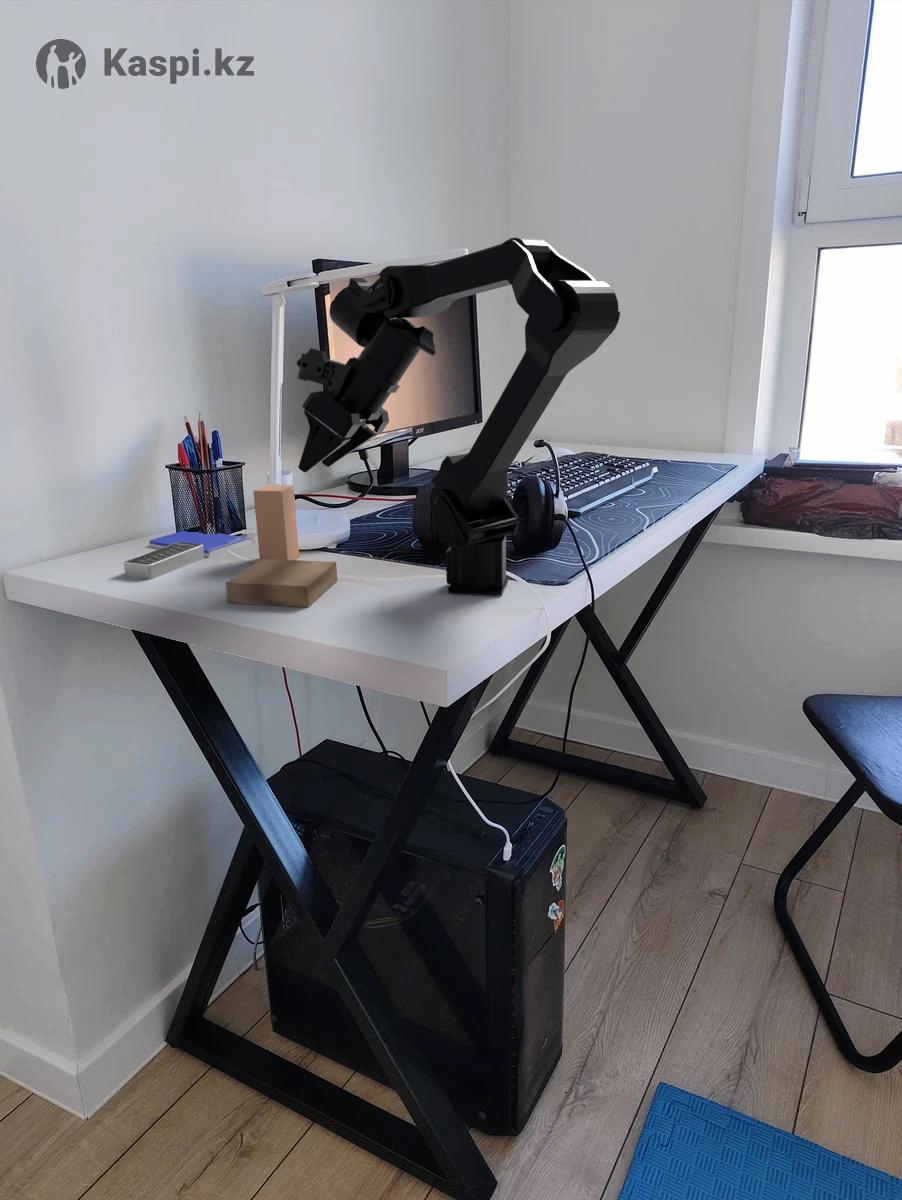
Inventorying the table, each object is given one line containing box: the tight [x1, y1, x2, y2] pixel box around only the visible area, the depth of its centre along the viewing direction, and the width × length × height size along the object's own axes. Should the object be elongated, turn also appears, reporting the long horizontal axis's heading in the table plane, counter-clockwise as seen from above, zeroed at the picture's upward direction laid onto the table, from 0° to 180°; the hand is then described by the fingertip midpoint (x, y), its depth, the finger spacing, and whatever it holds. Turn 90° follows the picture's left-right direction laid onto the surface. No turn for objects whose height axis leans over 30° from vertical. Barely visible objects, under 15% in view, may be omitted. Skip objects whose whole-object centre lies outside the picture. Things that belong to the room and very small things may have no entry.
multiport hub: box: [123, 542, 206, 581], centre depth 115 cm, size 4×11×2 cm, turn 156°
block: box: [253, 484, 300, 560], centre depth 115 cm, size 4×4×10 cm
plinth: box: [225, 558, 338, 608], centre depth 103 cm, size 10×10×2 cm
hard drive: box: [148, 530, 252, 558], centre depth 125 cm, size 2×8×12 cm
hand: (313, 467), depth 110 cm, fingers open, 9 cm apart
